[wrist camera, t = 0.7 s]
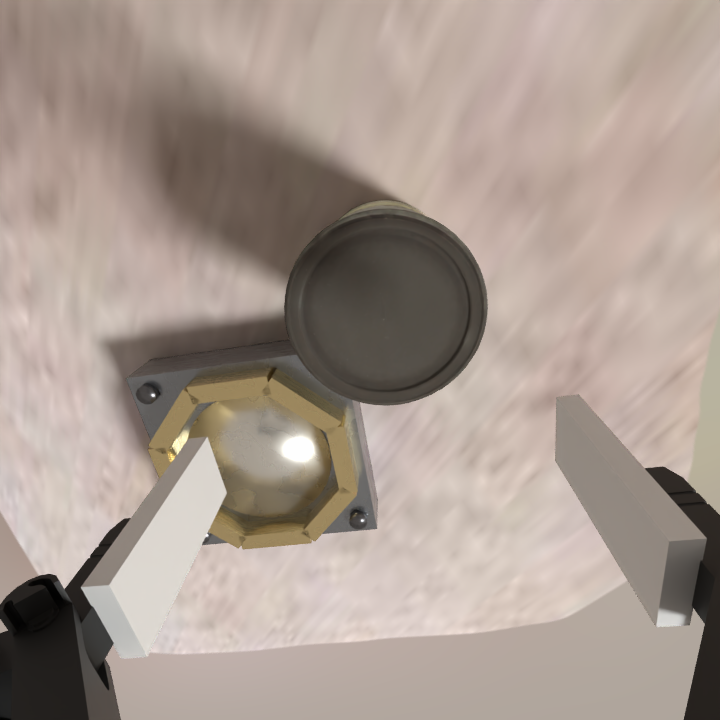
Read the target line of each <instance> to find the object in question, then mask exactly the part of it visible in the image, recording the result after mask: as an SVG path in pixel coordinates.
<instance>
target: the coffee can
mask: <svg viewBox="0 0 720 720" xmlns="http://www.w3.org/2000/svg"><path fill="white" fill-rule="evenodd" d="M284 308H285V322H286V328H287V332H288V336H289V339H290V342H291V344H292V346H293V348H294V351H295V353H296V354H297V356H298V358H299V359H300V361H301V362H302V364H303V365H304V366H305V368H306V369H307V370H308V371H309V372H310V373H311V374H312V375H313V376H314V378H316V379H317V380H318V381H319V382H320V383H321V384H322V385H324V386H325V387H327V388H328V389H330V390H331V391H333V392H335V393H337V394H339V395H341V396H343V397H346V398H348V399H351V400H354V401H358V402H362V403H367V404H373V405H399V404H405V403H409V402H412V401H416V400H419V399H422V398H424V397H427V396H429V395H431V394H433V393H435V392H436V391H438V390H440V389H442V388H444V387H445V386H446V385H448V384H449V383H450V382H451V381H453V380H454V379H455V378H456V377H457V376H458V375H459V374H460V373H461V372H462V371H463V370H464V369H465V368H466V366H467V365H468V363H469V362H470V361H471V359H472V358H473V356H474V354H475V353H476V351H477V349H478V347H479V345H480V342H481V340H482V337H483V334H484V330H485V326H486V319H487V310H488V304H487V292H486V287H485V283H484V279H483V276H482V273H481V270H480V268H479V266H478V264H477V262H476V260H475V258H474V257H473V255H472V253H471V252H470V250H469V249H468V248H467V246H466V245H465V244H464V243H463V242H462V241H461V240H460V239H459V238H458V237H457V236H456V235H455V234H454V233H453V232H452V231H450V230H449V229H448V228H446V227H445V226H444V225H442V224H441V223H439V222H437V221H435V220H433V219H431V218H429V217H427V216H426V215H425V214H423V213H422V212H421V211H419V210H418V209H416V208H414V207H412V206H410V205H408V204H405V203H402V202H397V201H390V200H382V201H373V202H369V203H365V204H363V205H360V206H358V207H356V208H354V209H352V210H350V211H349V212H348V213H346V214H345V215H344V216H342V217H341V218H340V219H339V220H338V221H336V222H335V223H333V224H331V225H330V226H328V227H327V228H325V229H324V230H322V231H321V232H320V233H319V234H318V235H317V236H316V237H315V238H314V239H313V240H312V241H311V242H310V243H309V244H308V245H307V246H306V248H305V249H304V250H303V252H302V253H301V254H300V256H299V258H298V259H297V261H296V263H295V265H294V267H293V270H292V272H291V274H290V277H289V280H288V284H287V289H286V294H285V305H284Z"/></svg>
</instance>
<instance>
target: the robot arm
mask: <svg viewBox="0 0 720 720" xmlns="http://www.w3.org/2000/svg"><path fill="white" fill-rule="evenodd" d="M555 461H556V463H557V464H558V466H559V468H560V469H561V471H562V472H563V474H564V476H565V477H566V479H567V481H568V482H569V484H570V486H571V487H572V489H573V491H574V492H575V494H576V496H577V497H578V499H579V501H580V502H581V504H582V506H583V507H584V509H585V511H586V512H587V514H588V515H589V517H590V519H591V520H592V522H593V524H594V525H595V527H596V529H597V530H598V532H599V534H600V535H601V537H602V539H603V540H604V542H605V544H606V545H607V547H608V549H609V550H610V552H611V554H612V555H613V557H614V559H615V560H616V562H617V563H618V565H619V567H620V568H621V570H622V572H623V573H624V575H625V577H626V578H627V580H628V582H629V583H630V585H631V587H632V588H633V590H634V591H635V593H636V594H637V597H638V598H639V600H640V602H641V603H642V605H643V606H644V608H645V610H646V611H647V613H648V615H649V616H650V618H651V620H652V621H653V623H654V625H655V626H656V627H666V626H683V625H690V621H691V616H692V611H693V608H694V609H695V611H696V612H697V614H698V615H699V616H700V618H701V619H702V620H703V622H704V623H705V626H704V631H703V635H702V640H701V644H700V649H699V653H698V658H697V662H696V667H695V672H694V676H693V680H692V685H691V689H690V694H689V699H688V703H687V707H686V712H685V716H684V720H720V515H719V514H718V513H717V512H716V511H715V510H714V509H713V508H712V507H711V506H710V505H709V504H707V503H706V501H705V500H704V499H703V498H702V497H701V496H700V495H699V494H698V493H696V491H695V490H694V489H693V488H692V487H691V486H690V485H689V483H688V482H687V481H686V480H685V479H684V478H683V477H681V476H679V475H677V474H676V473H674V472H672V471H670V470H669V469H667V468H665V467H654V468H644V467H643V466H642V465H641V464H640V463H639V462H638V461H637V459H636V458H635V457H634V456H633V455H632V454H631V453H630V452H629V450H628V449H627V448H626V447H625V446H624V445H623V444H622V443H621V441H620V440H619V439H618V438H617V437H616V436H615V435H614V434H613V432H612V431H611V430H610V429H609V428H608V427H607V426H606V425H605V424H604V422H603V421H602V420H601V419H600V418H599V417H598V416H597V415H596V413H595V412H594V411H593V410H592V409H591V408H590V407H589V406H588V404H587V403H586V402H585V401H584V400H583V399H582V398H581V397H580V395H571V396H562V397H556V450H555ZM226 494H227V492H226V489H225V486H224V483H223V480H222V477H221V475H220V472H219V469H218V466H217V463H216V460H215V457H214V454H213V451H212V448H211V446H210V443H209V440H208V437H200V438H191V439H188V441H187V442H186V443H185V445H184V446H183V447H182V449H181V450H180V452H179V453H178V454H177V456H176V457H175V458H174V460H173V461H172V463H171V464H170V465H169V467H168V468H167V469H166V471H165V472H164V474H163V475H162V476H161V478H160V479H159V480H158V482H157V483H156V485H155V486H154V487H153V489H152V490H151V491H150V493H149V494H148V496H147V497H146V498H145V500H144V501H143V502H142V504H141V505H140V507H139V508H138V509H137V511H136V512H135V513H134V515H133V516H132V518H127V519H123V520H122V521H121V522H119V523H118V524H117V525H116V526H115V527H113V528H112V529H111V530H110V531H109V532H108V533H107V534H106V536H105V537H104V538H103V540H102V541H101V542H100V544H99V547H97V548H96V549H95V550H94V552H93V553H92V554H91V555H90V556H91V557H90V558H88V559H87V561H86V562H85V563H84V565H83V566H82V567H81V569H80V570H79V571H78V572H77V574H76V575H75V576H74V578H73V579H72V580H71V582H70V583H69V584H68V586H67V587H66V588H65V590H64V588H63V586H62V585H61V583H60V581H59V580H58V578H57V576H56V575H52V574H46V575H40V576H38V577H35V578H33V579H30V580H28V581H26V582H25V583H23V584H22V585H20V586H19V587H17V588H16V589H15V590H13V591H12V592H11V593H10V594H9V595H8V596H7V597H6V598H5V599H4V600H3V602H2V603H1V604H0V619H1V620H2V622H3V623H4V625H5V626H6V628H7V629H8V631H5V632H3V633H0V720H121V719H120V714H119V709H118V705H117V699H116V695H115V690H114V685H113V680H112V676H111V671H110V667H109V665H108V663H107V661H106V660H105V658H106V656H107V654H108V652H109V650H110V649H111V647H112V645H114V647H115V649H116V650H117V652H118V654H119V656H120V657H121V658H122V659H124V658H140V657H148V655H149V652H150V650H151V648H152V646H153V644H154V642H155V640H156V638H157V636H158V634H159V632H160V630H161V628H162V626H163V624H164V622H165V619H166V617H167V615H168V613H169V611H170V609H171V607H172V605H173V603H174V601H175V599H176V597H177V595H178V593H179V591H180V589H181V586H182V584H183V582H184V580H185V578H186V576H187V574H188V572H189V570H190V568H191V566H192V564H193V562H194V560H195V558H196V556H197V553H198V551H199V549H200V547H201V545H202V543H203V541H204V539H205V537H206V535H207V533H208V531H209V529H210V527H211V525H212V523H213V521H214V518H215V516H216V514H217V512H218V510H219V508H220V506H221V504H222V502H223V500H224V498H225V496H226Z"/></svg>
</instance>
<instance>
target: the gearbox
mask: <svg viewBox="0 0 720 720" xmlns="http://www.w3.org/2000/svg"><path fill="white" fill-rule="evenodd" d="M126 380H127V382H128V385H129V387H130V390H131V392H132V395H133V397H134V400H135V402H136V405H137V407H138V410H139V412H140V415H141V417H142V420H143V422H144V425H145V427H146V430H147V432H148V435H149V437H150V440H151V442H150V443H149V445H148V446H149V447H150V448H149V449H148V451H149V454H150V456H151V459H152V461H153V464H154V466H155V469H156V471H157V473H158V476H159V478H161V476H162V475H163V474H164V472H165V471H166V469H167V468H168V467H169V465H170V464H171V463H172V461H173V460H174V458H175V457H176V456H177V454H178V453H179V452H180V450H181V449H182V447H183V446H184V445H185V443H186V442H187V441H188V439H191V438H200V437H208V440H209V443H210V446H211V448H212V451H213V454H214V457H215V460H216V463H217V466H218V469H219V472H220V475H221V477H222V480H223V483H224V486H225V489H226V492H227V494H226V496H225V498H224V500H223V502H222V504H221V506H220V508H219V510H218V512H217V514H216V516H215V518H214V521H213V523H212V525H211V527H210V529H209V531H208V533H207V535H206V537H205V539H204V541H203V543H202V545H208V544H219V543H229V544H231V545H233V546H235V547H237V548H239V547H240V546H242V548H243V549H252V548H263V547H275V546H286V545H297V544H308V543H311V542H312V540H313V541H316V540H317V539H318V538H319V537H320V535H321V534H327V533H338V532H348V531H359V530H370V529H377V509H378V499H377V493H376V488H375V483H374V477H373V472H372V467H371V461H370V456H369V451H368V445H367V440H366V435H365V429H364V424H363V418H362V413H361V408H360V402H358V401H354V400H351V399H348V398H346V397H343V396H341V395H339V394H337V393H335V392H333V391H331V390H330V389H328V388H327V387H325V386H324V385H322V384H321V383H320V382H319V381H318V380H317V379H316V378H314V376H313V375H312V374H311V373H310V372H309V371H308V370H307V369H306V368H305V366H304V365H303V364H302V362H301V361H300V359H299V358H298V356H297V354H296V353H295V351H294V348H293V346H292V344H291V342H290V340H286V341H279V342H272V343H265V344H258V345H251V346H244V347H237V348H230V349H223V350H216V351H209V352H202V353H195V354H188V355H181V356H174V357H167V358H160V359H153V360H149V361H148V362H147V363H145V364H144V365H143V366H142V367H140V368H139V369H138V370H136V371H135V372H134V373H132V374H131V375H130V376H128V377H127V378H126Z"/></svg>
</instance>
